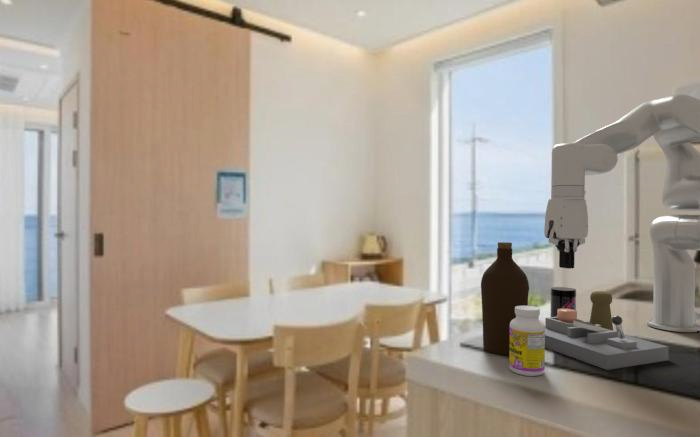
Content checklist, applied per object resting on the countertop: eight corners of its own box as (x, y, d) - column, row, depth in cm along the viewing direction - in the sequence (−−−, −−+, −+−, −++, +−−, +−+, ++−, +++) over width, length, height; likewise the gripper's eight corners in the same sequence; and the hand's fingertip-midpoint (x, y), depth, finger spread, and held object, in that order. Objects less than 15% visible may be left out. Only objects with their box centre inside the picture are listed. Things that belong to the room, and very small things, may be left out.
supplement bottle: (503, 366, 96) (504, 304, 96) (534, 365, 97) (534, 304, 96) (518, 377, 89) (518, 311, 89) (551, 376, 90) (551, 310, 90)
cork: (617, 335, 121) (617, 293, 121) (592, 334, 122) (592, 292, 122) (609, 330, 127) (609, 290, 127) (585, 329, 128) (585, 289, 128)
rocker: (600, 331, 111) (601, 326, 111) (615, 335, 107) (616, 330, 107) (572, 324, 108) (574, 319, 108) (587, 328, 104) (588, 323, 104)
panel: (578, 333, 123) (578, 313, 123) (668, 360, 100) (668, 335, 100) (523, 340, 116) (523, 318, 116) (607, 369, 94) (607, 342, 94)
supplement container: (549, 326, 131) (549, 289, 131) (550, 321, 137) (550, 286, 137) (576, 329, 128) (576, 291, 128) (576, 323, 134) (576, 288, 134)
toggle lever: (620, 334, 102) (615, 313, 101) (628, 336, 100) (623, 315, 100) (614, 338, 101) (608, 317, 101) (622, 340, 100) (616, 319, 99)
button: (566, 319, 118) (566, 308, 118) (581, 323, 114) (581, 311, 114) (553, 321, 116) (553, 309, 116) (567, 325, 112) (567, 312, 112)
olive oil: (503, 358, 101) (504, 244, 101) (471, 346, 111) (471, 241, 111) (538, 352, 106) (539, 243, 106) (504, 341, 115) (505, 240, 115)
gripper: (578, 195, 121) (577, 265, 121) (532, 193, 116) (531, 267, 116) (603, 194, 114) (602, 268, 114) (555, 192, 109) (554, 270, 109)
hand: (566, 267), depth 115 cm, fingers closed
